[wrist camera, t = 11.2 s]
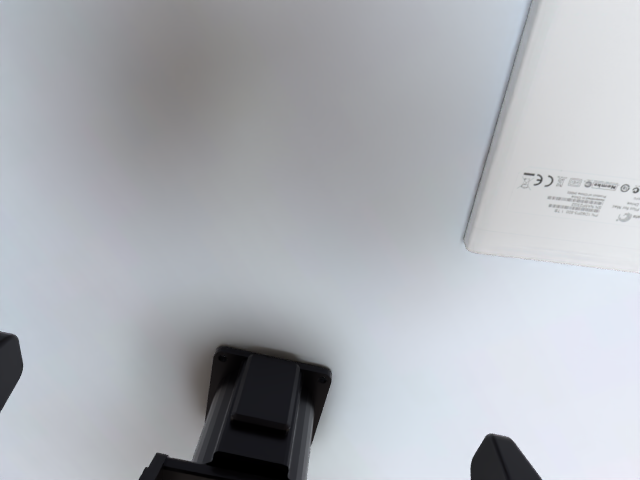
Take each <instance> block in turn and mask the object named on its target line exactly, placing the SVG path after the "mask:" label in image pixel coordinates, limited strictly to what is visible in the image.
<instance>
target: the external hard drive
mask: <svg viewBox="0 0 640 480" xmlns="http://www.w3.org/2000/svg"><path fill="white" fill-rule="evenodd" d="M464 244H465V247H466V249H467V250H468V251H470V252H474V253H478V254H486V255H494V256H502V257H512V258H521V259H528V260H536V261H545V262H553V263H561V264H568V265H577V266H584V267H593V268H600V269H609V270H617V271H624V272H633V273H640V0H532V2H531V6H530V9H529V13H528V16H527V20H526V23H525V27H524V30H523V34H522V38H521V41H520V44H519V48H518V51H517V55H516V58H515V62H514V65H513V69H512V72H511V76H510V79H509V83H508V86H507V90H506V94H505V97H504V100H503V104H502V107H501V111H500V114H499V118H498V121H497V125H496V129H495V132H494V135H493V139H492V142H491V146H490V149H489V153H488V156H487V160H486V163H485V167H484V170H483V174H482V177H481V181H480V184H479V188H478V191H477V195H476V198H475V202H474V205H473V209H472V212H471V216H470V219H469V222H468V226H467V229H466V233H465V236H464Z"/></svg>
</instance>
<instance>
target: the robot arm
mask: <svg viewBox="0 0 640 480" xmlns="http://www.w3.org/2000/svg"><path fill="white" fill-rule="evenodd" d="M222 355H224V356H226V357H224V356H222ZM22 370H23V361H22V355H21V350H20V345H19V340H18V338H17V336H16V335H14V334H11V333H6V332H1V331H0V412H1V410H2V408H3V407H4V405H5V403H6V401H7V400H8V398H9V396H10V394H11V393H12V391H13V389H14V387H15V386H16V384H17V382H18V380H19V378H20V376H21V374H22ZM321 377H325V378H321ZM331 380H332V373H331V371H329V370H328V369H325V368H321V367H317V366H312V365H307V364H303V363H298V362H294V361H289V360H285V359H280V358H275V357H271V356H266V355H262V354H257V353H252V352H248V351H243V350H239V349H234V348H229V347H223V346H222V347H219V348H217V349H216V352H215V354H214V358H213V365H212V373H211V380H210V388H209V395H208V403H207V410H206V418H205V424H204V427H203V430H202V433H201V436H200V439H199V442H198V445H197V447H196V450H195V453H194V456H193V459H192V462H191V461H186V460H181V459H175V458H170V457H168V455H166V454H161V453H156V455H155V456H154V458H153V460H152V462H151V464H150V465H149V467H146V468H145V469H144V471H143V473H142V475H141V476H140V478H139V480H307V471H308V463H309V454H310V446H311V444H312V441H313V438H314V435H315V432H316V428H317V425H318V422H319V419H320V416H321V413H322V410H323V407H324V403H325V400H326V397H327V394H328V391H329V388H330V385H331ZM471 480H542V479H541V477H540V476H539V475H538V473H537V472H536V471H535V469H534V468H533V467H532V465H531V464H530V463H529V461H528V460H527V459H526V457H525V456H524V455H523V453H522V452H521V451H520V449H519V448H518V447H517V445H516V444H515V443H514V441H513V440H512V439H510V438H509V437H506V436H502V435H497V434H488V435H486V437H485V438H484V440H483V441H482V443H481V445H480V446H479V448H478V450H477V451H476V453H475V455H474V456H473V459H472V462H471Z"/></svg>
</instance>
